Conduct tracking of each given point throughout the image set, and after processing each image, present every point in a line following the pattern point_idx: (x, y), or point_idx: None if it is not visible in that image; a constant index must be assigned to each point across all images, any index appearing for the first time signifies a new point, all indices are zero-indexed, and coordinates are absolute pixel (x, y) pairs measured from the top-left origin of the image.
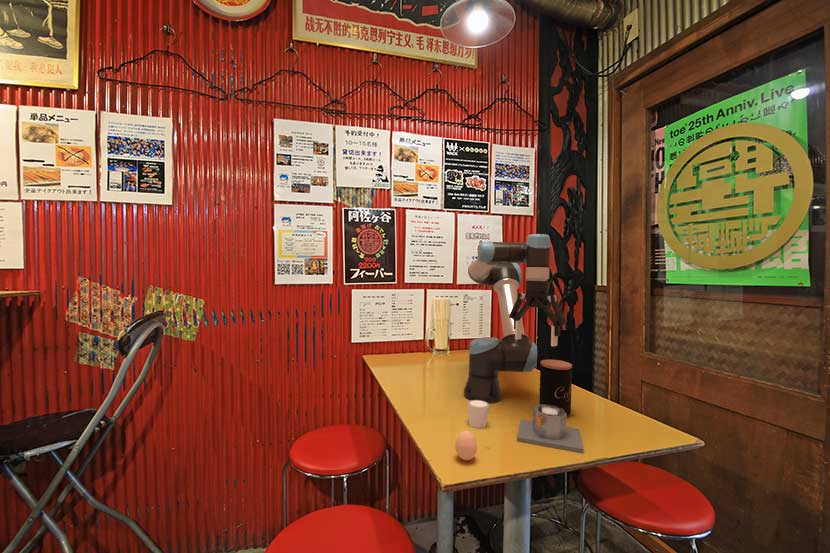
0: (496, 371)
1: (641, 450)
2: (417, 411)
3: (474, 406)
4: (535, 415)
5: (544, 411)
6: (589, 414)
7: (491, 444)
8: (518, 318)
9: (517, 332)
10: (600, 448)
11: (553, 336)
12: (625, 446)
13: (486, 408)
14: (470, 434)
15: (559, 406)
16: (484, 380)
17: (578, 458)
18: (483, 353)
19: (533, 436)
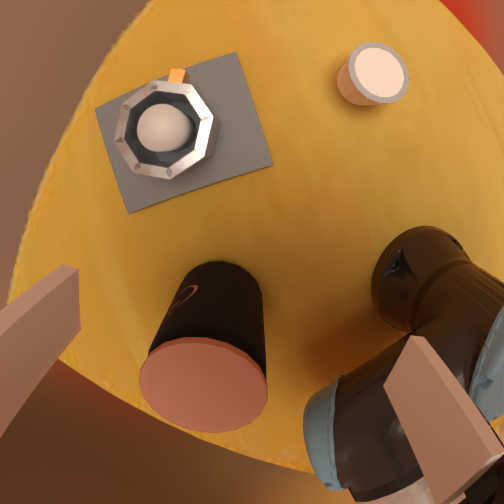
0: (421, 319)
1: (32, 214)
2: (485, 86)
3: (376, 44)
4: (196, 90)
5: (170, 105)
6: (152, 336)
7: (278, 9)
8: (479, 501)
9: (434, 377)
10: (79, 161)
11: (10, 304)
12: (51, 210)
13: (347, 62)
14: None
15: (190, 277)
16: (437, 266)
17: (102, 81)
18: (497, 306)
19: (202, 82)
